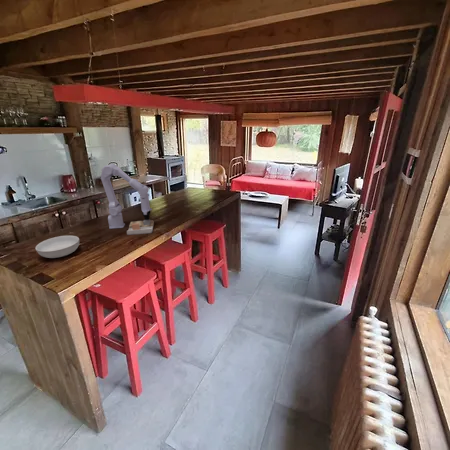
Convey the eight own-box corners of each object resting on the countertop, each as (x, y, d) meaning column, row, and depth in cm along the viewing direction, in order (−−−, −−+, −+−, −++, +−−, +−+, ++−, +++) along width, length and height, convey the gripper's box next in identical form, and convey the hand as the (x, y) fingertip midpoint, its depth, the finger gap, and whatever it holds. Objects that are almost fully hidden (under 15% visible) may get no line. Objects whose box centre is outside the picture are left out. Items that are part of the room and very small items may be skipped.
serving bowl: (35, 253, 144) (31, 242, 142) (75, 242, 158) (73, 232, 155) (43, 266, 130) (39, 254, 128) (86, 253, 144) (84, 242, 141)
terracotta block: (133, 229, 176) (132, 231, 174) (132, 223, 175) (131, 224, 172) (140, 229, 177) (139, 230, 175) (139, 223, 176) (138, 224, 173)
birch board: (129, 229, 177) (129, 226, 177) (131, 224, 187) (131, 221, 186) (153, 228, 180) (152, 224, 179) (153, 223, 190) (153, 220, 189)
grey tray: (127, 234, 169) (126, 230, 168) (129, 230, 177) (128, 226, 176) (152, 233, 172) (151, 228, 171) (152, 228, 180) (152, 224, 179)
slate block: (143, 225, 178) (143, 221, 178) (144, 223, 183) (143, 219, 182) (150, 224, 179) (149, 221, 178) (150, 222, 183) (150, 219, 183)
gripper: (150, 205, 173) (152, 224, 178) (151, 200, 186) (153, 217, 191) (139, 206, 172) (141, 225, 177) (141, 200, 185) (143, 218, 190)
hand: (147, 221), depth 184 cm, fingers closed
